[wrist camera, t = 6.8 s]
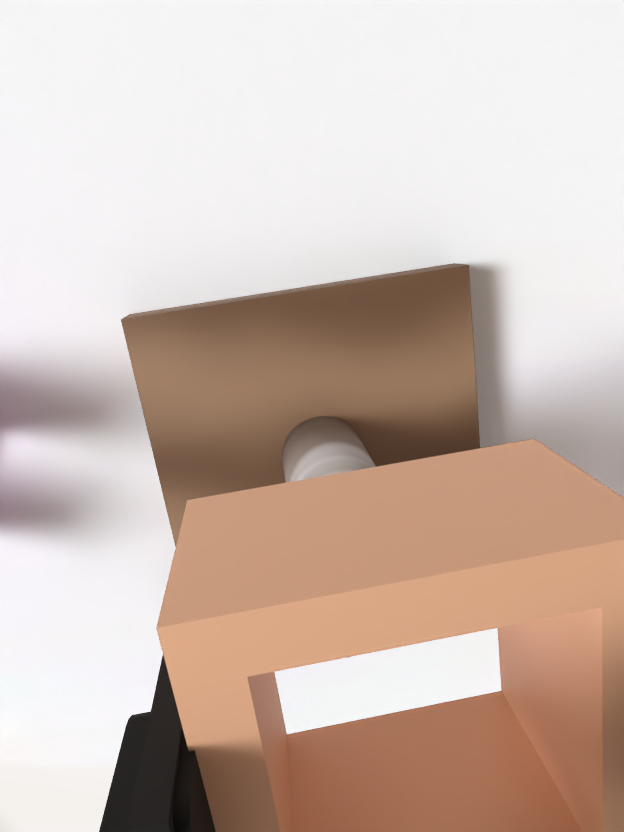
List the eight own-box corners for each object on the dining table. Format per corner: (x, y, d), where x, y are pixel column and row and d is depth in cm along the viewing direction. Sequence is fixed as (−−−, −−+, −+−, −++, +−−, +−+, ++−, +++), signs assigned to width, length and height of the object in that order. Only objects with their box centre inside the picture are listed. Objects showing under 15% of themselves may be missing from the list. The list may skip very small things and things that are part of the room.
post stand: (129, 314, 21) (69, 351, 14) (453, 263, 22) (556, 273, 15) (196, 599, 25) (176, 746, 17) (473, 547, 25) (563, 667, 18)
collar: (187, 500, 11) (156, 628, 8) (534, 438, 12) (672, 530, 8) (250, 777, 13) (251, 990, 10) (544, 716, 14) (658, 896, 10)
